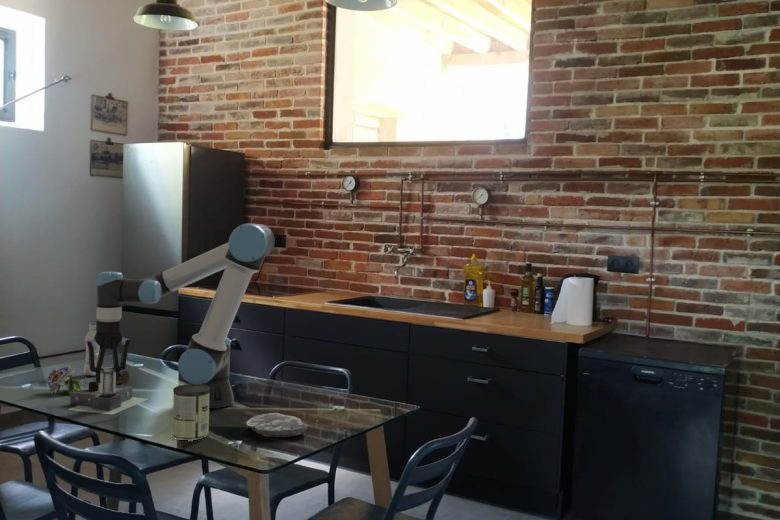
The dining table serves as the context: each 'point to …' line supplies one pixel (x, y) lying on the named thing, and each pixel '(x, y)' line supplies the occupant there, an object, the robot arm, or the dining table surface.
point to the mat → (124, 406)
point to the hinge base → (95, 401)
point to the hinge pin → (107, 381)
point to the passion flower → (63, 380)
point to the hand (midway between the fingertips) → (107, 391)
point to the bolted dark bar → (124, 393)
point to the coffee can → (191, 412)
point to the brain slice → (276, 424)
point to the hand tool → (122, 380)
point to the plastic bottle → (96, 347)
